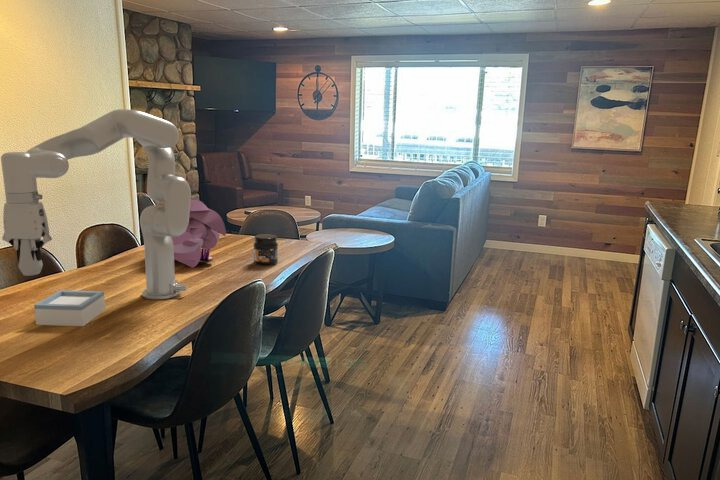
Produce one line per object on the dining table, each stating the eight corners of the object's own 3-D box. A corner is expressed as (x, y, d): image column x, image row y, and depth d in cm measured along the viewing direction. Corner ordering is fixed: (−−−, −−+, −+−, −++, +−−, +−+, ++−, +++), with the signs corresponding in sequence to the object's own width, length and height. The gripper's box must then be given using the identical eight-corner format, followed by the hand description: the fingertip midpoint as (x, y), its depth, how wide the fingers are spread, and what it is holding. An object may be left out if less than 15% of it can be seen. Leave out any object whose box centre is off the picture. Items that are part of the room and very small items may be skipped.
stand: (105, 309, 173) (103, 291, 171) (83, 326, 159) (81, 306, 158) (61, 308, 173) (60, 290, 171) (36, 324, 159) (34, 305, 157)
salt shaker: (47, 270, 153) (42, 226, 150) (36, 276, 148) (31, 231, 145) (26, 270, 153) (21, 226, 150) (14, 276, 147) (9, 230, 144)
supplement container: (248, 264, 231) (248, 237, 228) (260, 258, 241) (260, 232, 238) (270, 267, 228) (270, 239, 225) (282, 261, 238) (282, 235, 235)
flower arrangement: (231, 269, 241) (242, 207, 240) (208, 273, 217) (219, 204, 216) (161, 255, 247) (170, 194, 245) (131, 257, 223) (141, 190, 222)
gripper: (59, 196, 149) (66, 260, 153) (1, 195, 149) (9, 258, 153) (44, 201, 142) (51, 267, 146) (-18, 199, 142) (-9, 266, 146)
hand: (29, 262), depth 150 cm, fingers closed on salt shaker, 3 cm apart
